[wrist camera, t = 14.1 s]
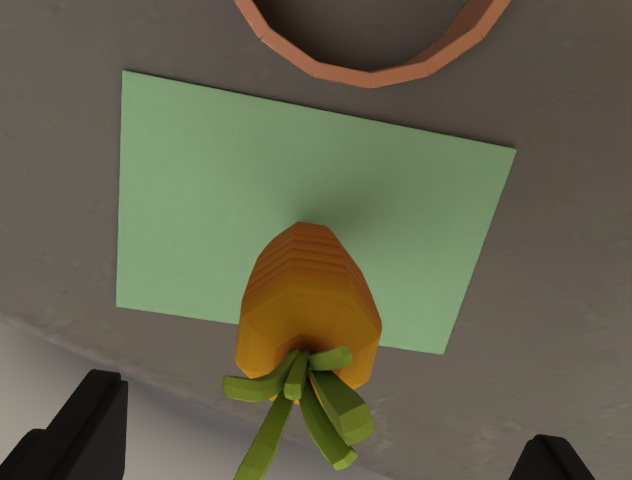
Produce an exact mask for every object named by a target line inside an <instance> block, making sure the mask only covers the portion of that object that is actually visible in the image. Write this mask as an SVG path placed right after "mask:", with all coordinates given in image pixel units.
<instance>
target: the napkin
mask: <svg viewBox="0 0 632 480" xmlns="http://www.w3.org/2000/svg"><path fill="white" fill-rule="evenodd" d="M516 152H517V149H515V148H510V147H505V146H500V145H495V144H490V143H485V142H480V141H475V140H470V139H465V138H460V137H455V136H450V135H445V134H440V133H435V132H430V131H425V130H420V129H415V128H410V127H405V126H400V125H395V124H390V123H385V122H380V121H376V120H371V119H366V118H361V117H356V116H351V115H346V114H341V113H336V112H331V111H326V110H321V109H316V108H311V107H306V106H301V105H296V104H291V103H286V102H281V101H276V100H271V99H266V98H261V97H256V96H251V95H246V94H241V93H236V92H231V91H226V90H221V89H216V88H211V87H206V86H201V85H196V84H191V83H186V82H181V81H176V80H171V79H166V78H161V77H156V76H151V75H146V74H141V73H136V72H131V71H126V70H123V71H122V106H121V143H120V179H119V216H118V252H117V288H116V306H117V307H124V308H130V309H137V310H144V311H151V312H157V313H164V314H171V315H178V316H184V317H191V318H198V319H205V320H211V321H218V322H225V323H231V324H238V325H239V318H240V310H241V301H242V298H243V295H244V292H245V289H246V286H247V283H248V280H249V277H250V275H251V272H252V270H253V267H254V265H255V262H256V260H257V257H258V256H259V254H260V253H261V252H262V251H263V249H264V248H265V247H266V245H267V244H268V243H269V242H270V241H271V240H272V239H273V238H274V237H276V236H277V235H278V234H280V233H281V232H283V231H284V230H286V229H287V228H289V227H290V226H292V225H293V224H294V223H296V222H297V221H299V222H306V223H312V224H319V225H325V226H327V227H328V228H329V229H330V230H331V231H332V232H333V233H334V235H335V236H336V237H337V239H338V240H339V241H340V243H341V244H342V245H343V247H344V248H345V250H346V251H347V252H348V254H349V255H350V256H351V258H352V259H353V260H354V262H355V263H356V264H357V266H358V267H359V268H360V270H361V271H362V273H363V275H364V278H365V280H366V282H367V284H368V287H369V289H370V291H371V294H372V296H373V299H374V302H375V304H376V307H377V310H378V312H379V315H380V318H381V321H382V332H381V336H380V340H379V344H378V345H380V346H386V347H393V348H400V349H407V350H413V351H420V352H427V353H434V354H440V355H443V354H444V351H445V348H446V346H447V343H448V340H449V337H450V335H451V332H452V329H453V326H454V323H455V321H456V318H457V315H458V312H459V310H460V307H461V304H462V301H463V299H464V296H465V293H466V290H467V287H468V285H469V282H470V279H471V276H472V274H473V271H474V268H475V265H476V262H477V260H478V257H479V254H480V251H481V249H482V246H483V243H484V240H485V238H486V235H487V232H488V229H489V226H490V224H491V221H492V218H493V215H494V213H495V210H496V207H497V204H498V202H499V199H500V196H501V193H502V190H503V188H504V185H505V182H506V179H507V177H508V174H509V171H510V168H511V165H512V163H513V160H514V157H515V154H516Z"/></svg>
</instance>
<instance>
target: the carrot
mask: <svg viewBox="0 0 632 480" xmlns="http://www.w3.org/2000/svg"><path fill="white" fill-rule="evenodd" d="M381 332H382V321H381V318H380V315H379V312H378V310H377V307H376V304H375V302H374V299H373V296H372V294H371V291H370V289H369V287H368V284H367V282H366V280H365V278H364V275H363V273H362V271H361V270H360V268H359V267H358V266H357V264H356V263H355V262H354V260H353V259H352V258H351V256H350V255H349V254H348V252H347V251H346V250H345V248H344V247H343V245H342V244H341V243H340V241H339V240H338V239H337V237H336V236H335V235H334V233H333V232H332V231H331V230H330V229H329V228H328V227H327V226H325V225H319V224H312V223H306V222H299V221H297V222H296V223H294V224H293V225H292V226H290V227H289V228H287V229H286V230H284V231H283V232H281V233H280V234H278V235H277V236H276V237H274V238H273V239H272V240H271V241H270V242H269V243H268V244H267V245H266V247H265V248H264V249H263V251H262V252H261V253H260V254H259V256H258V257H257V260H256V262H255V265H254V267H253V270H252V272H251V275H250V277H249V280H248V283H247V286H246V289H245V292H244V295H243V298H242V301H241V310H240V318H239V326H238V334H237V342H236V350H235V361H236V365H237V366H238V367H239V368H240V369H241V370H242V371H243V372H244V373H245V374H246V375H247V376H248V377H249V378H244V377H238V376H227V375H226V376H223V380H222V387H223V392H224V395H225V396H227V397H230V398H233V399H237V400H240V401H248V402H263V401H265V400H267V399H270V400H271V401H274V402H273V404H272V406H271V408H270V410H269V412H268V414H267V416H266V418H265V420H264V422H263V424H262V426H261V428H260V430H259V432H258V434H257V436H256V438H255V439H254V441H253V444H252V445H251V447H250V449H249V451H248V452H247V454H246V456H245V458H244V459H243V461H242V463H241V465H240V467H239V468H238V471H237V473H236V475H235V477H234V479H233V480H263V478H264V477H265V475H266V473H267V471H268V469H269V466H270V464H271V462H272V460H273V458H274V456H275V454H276V451H277V448H278V446H279V442H280V440H281V437H282V434H283V432H284V429H285V426H286V423H287V421H288V418H289V415H290V412H291V409H292V406H293V403H295V404H300V407H301V410H302V413H303V416H304V419H305V423H306V426H307V428H308V431H309V433H310V435H311V436H312V438H313V440H314V441H315V443H316V445H317V446H318V448H319V450H320V451H321V453H322V454H323V455H324V456H325V458H326V459H327V460H328V461H329V463H330V464H331V465H332V466H333V467H334V469H335V470H337V471H339V470H341V469H343V468H345V467H347V466H350V465H351V463H352V462H353V461H354V460H355V459H356V458H357V457H358V456H357V454H356V452H355V451H354V450H353V448H352V447H351V446H350V445H353V444H356V443H360V442H363V441H364V440H365V439H366V438H367V437H369V436H370V435H371V434H372V433H373V432H374V427H373V419H372V416H371V414H370V411H369V409H368V407H367V405H366V403H365V402H364V400H363V399H362V398H361V397H360V396H359V395H358V394H357V393H356V392H355V391H354V389H356V388H357V387H359V386H361V385H362V384H364V383H366V382H368V381H369V378H370V374H371V370H372V366H373V363H374V359H375V355H376V351H377V348H378V344H379V340H380V336H381ZM323 407H324V408H325V410H326V412H327V414H326V412H325V410H324V409H323ZM327 415H328V416H329V418H330V419H329V418H328V416H327ZM330 420H331V421H330Z"/></svg>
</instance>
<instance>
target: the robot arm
mask: <svg viewBox="0 0 632 480" xmlns="http://www.w3.org/2000/svg"><path fill="white" fill-rule="evenodd" d="M127 403H128V382H127V381H123V380H121V375H120V373H117V372H110V371H103V370H96V369H92V370H91V371H90V372H89V373H88V374H87V375H86V376H85V378H84V379H83V380H82V382H81V383H80V384H79V386H78V387H77V388H76V390H75V391H74V392H73V394H72V395H71V396H70V398H69V399H68V400H67V402H66V403H65V404H64V406H63V407H62V408H61V410H60V411H59V412H58V414H57V415H56V416H55V418H54V419H53V420H52V422H51V423H50V424H49V426H48V427H47V428H46V430H44V429H32V430H31V431H29V432H28V433H27V434H26V435H25V436H24V437H23V438H22V439H21V440H20V441H19V443H18V444H17V445H16V447H15V448H14V449H13V451H11V453H10V454H9V455H8V457H7V458H6V459H5V460H4V461H3V463H2V464H1V465H0V480H122V478H123V475H124V470H125V449H126V427H127V426H126V425H127ZM509 480H595V479H594V477H593V476H592V474H591V473H590V471H589V470H588V469H587V467H586V466H585V464H584V463H583V462H582V460H581V459H580V457H579V456H578V454H577V453H576V452H575V450H574V449H573V447H572V446H571V445H570V443H569V442H568V441H567V440H566V439H564V438H562V437H555V436H548V435H542V434H538V435H536V436H535V437H534V438H533V439H532V440H529V441H528V442H527V443H526V445H525V448H524V450H523V452H522V454H521V456H520V458H519V460H518V462H517V464H516V466H515V468H514V470H513V472H512V474H511V476H510V478H509Z"/></svg>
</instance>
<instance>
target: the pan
mask: <svg viewBox="0 0 632 480" xmlns="http://www.w3.org/2000/svg"><path fill="white" fill-rule="evenodd" d="M233 1H234V2H235V4H236V5H237V7H238V8H239V10H240V12H241V13H242V15H243V16H244V18H245V19H246V21H247V22H248V24H249V25H250V27H251V28H252V30H253V31H254V33H255V34H256V36H257V37H258V39H260V40H261V42H262V43H264V44H265V45H266V46H267V47H269V48H270V49H271V50H273V51H274V52H276V53H277V54H278V55H280V56H281V57H283V58H284V59H286V60H287V61H288V62H290V63H291V64H293V65H294V66H295V67H297V68H298V69H300V70H301V71H303V72H304V73H305V74H307V75H308V76H311V77H313V78H318V79H323V80H328V81H333V82H338V83H342V84H347V85H352V86H357V87H362V88H367V89H369V88H371V89H373V88H378V87H383V86H387V85H392V84H396V83H401V82H406V81H410V80H415V79H420V78H424V77H428V76H429V75H432V74H433V73H435V72H436V71H438V70H439V69H441V68H442V67H444V66H445V65H447V64H448V63H449V62H451V61H452V60H454V59H455V58H457V57H458V56H460V55H461V54H463V53H464V52H466V51H467V50H468V49H470V48H471V47H473V46H474V45H476V44H477V43H479V42H480V41H481V40H482V38H485V36H486V35H487V34H488V32H489V31H490V29H491V28H492V27H493V25H494V24H495V23H496V21H497V20H498V18H499V17H500V16H501V14H502V13H503V11H504V10H505V9H506V7H507V6H508V5H509V3H510V2H511V0H468V1H467V2H466V4H465V5H464V7H463V8H462V10H461V11H460V12H459V14H458V15H457V17H456V18H455V20H454V21H453V23H452V24H451V25H450V27H449V28H448V30H447V31H446V33H445V34H444V36H442V37H441V38H439V39H438V40H437V41H435V42H434V43H432V44H431V45H429V46H428V47H427V48H425V49H424V50H422V51H421V52H419V53H418V54H417V55H415V56H414V57H412V58H411V59H409V60H408V61H407V62H405V63H404V64H400V65H395V66H391V67H386V68H382V69H377V70H373V71H368V72H364V71H359V70H354V69H349V68H345V67H340V66H335V65H331V64H326V63H321V62H317V61H316V60H314V59H313V58H311V57H310V56H309V55H307V54H306V53H304V52H303V51H302V50H300V49H299V48H297V47H296V46H295V45H293V44H292V43H291V42H289V41H288V40H286V39H285V38H284V37H282V36H281V35H279V34H278V33H277V32H275V31H274V30H272V29H271V28H270V26H269V25H268V23H267V22H266V20H265V19H264V17H263V15H262V14H261V12H260V11H259V9H258V8H257V6H256V4H255V3H254V1H253V0H233Z"/></svg>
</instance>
